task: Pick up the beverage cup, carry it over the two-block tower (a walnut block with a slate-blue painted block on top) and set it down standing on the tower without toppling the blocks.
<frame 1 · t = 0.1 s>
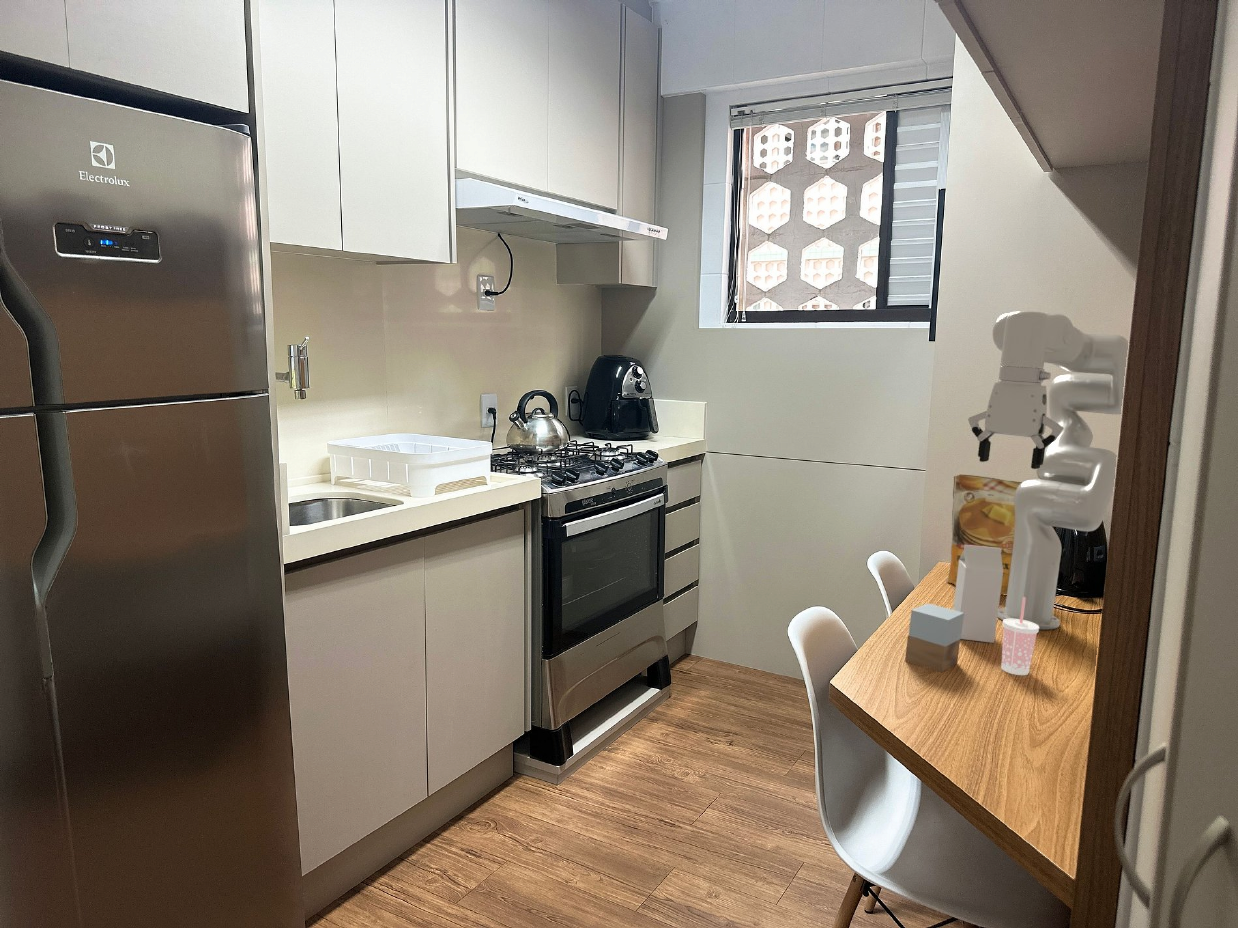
hand: (1009, 464, 163), 37 cm above the table, tool pointing down, fingers open, 9 cm apart
milk carton: (971, 636, 173), on the table
beverage cup: (1014, 671, 155), on the table
top block: (934, 637, 156), point 5 cm above the table, touching bottom block
bottom block: (931, 662, 157), on the table, touching top block
pancake mix bag: (980, 589, 210), on the table
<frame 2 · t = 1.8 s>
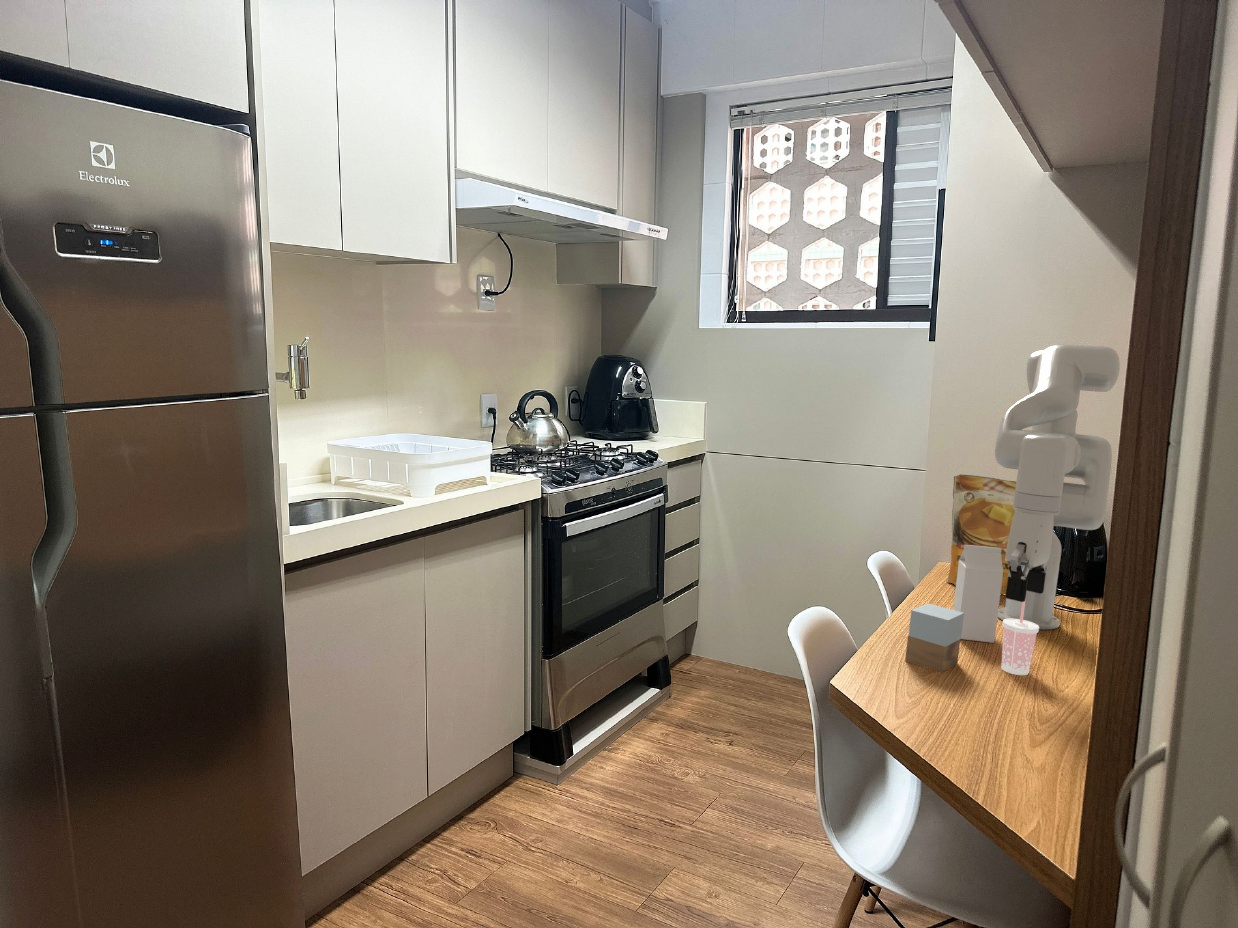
hand: (1024, 595, 153), 14 cm above the table, tool pointing down, fingers open, 9 cm apart
nothing on the table moved.
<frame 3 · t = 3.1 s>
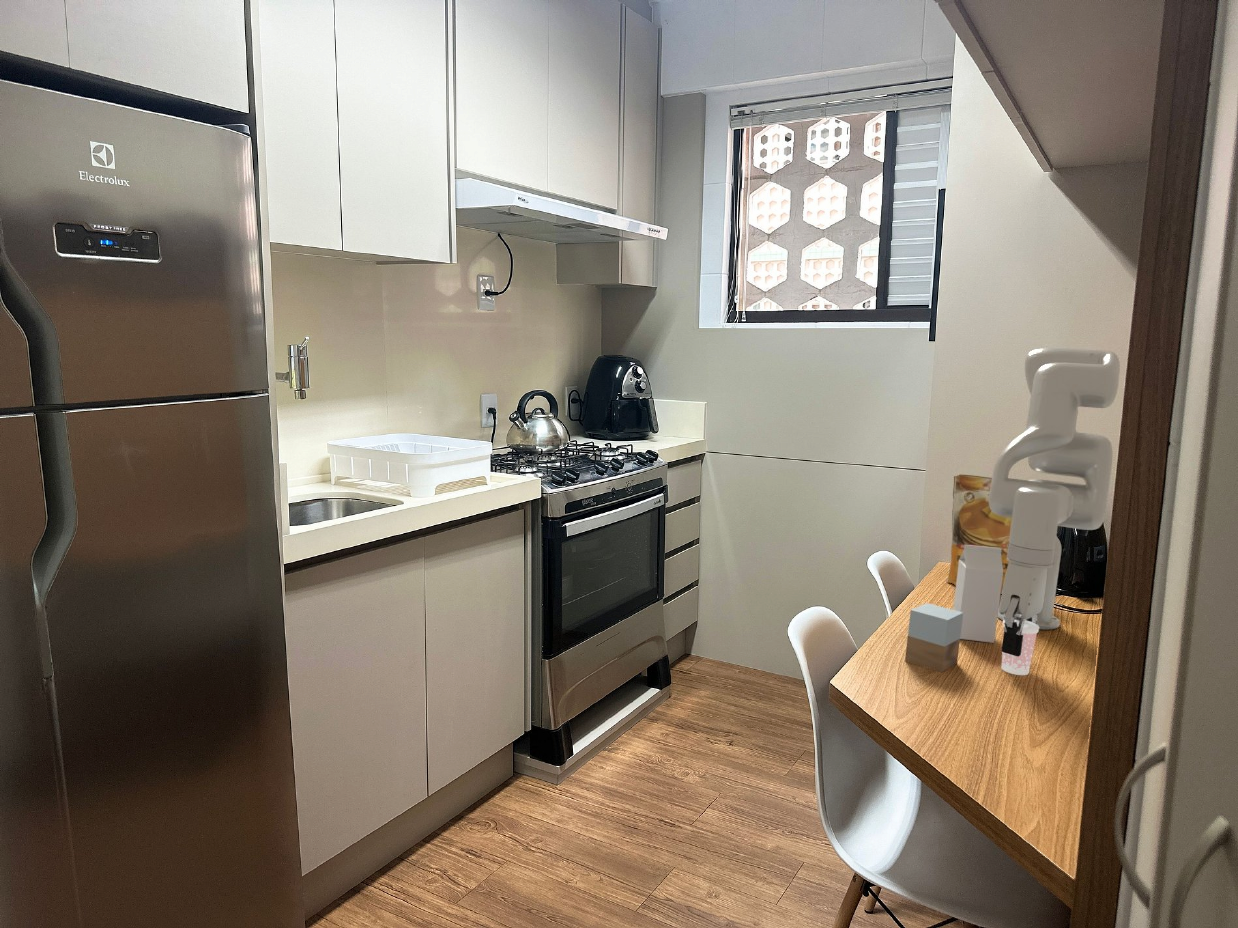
hand: (1017, 648, 155), 4 cm above the table, tool pointing down, fingers closed on beverage cup, 6 cm apart
beverage cup: (1014, 671, 155), on the table, touching gripper
everything else where it was.
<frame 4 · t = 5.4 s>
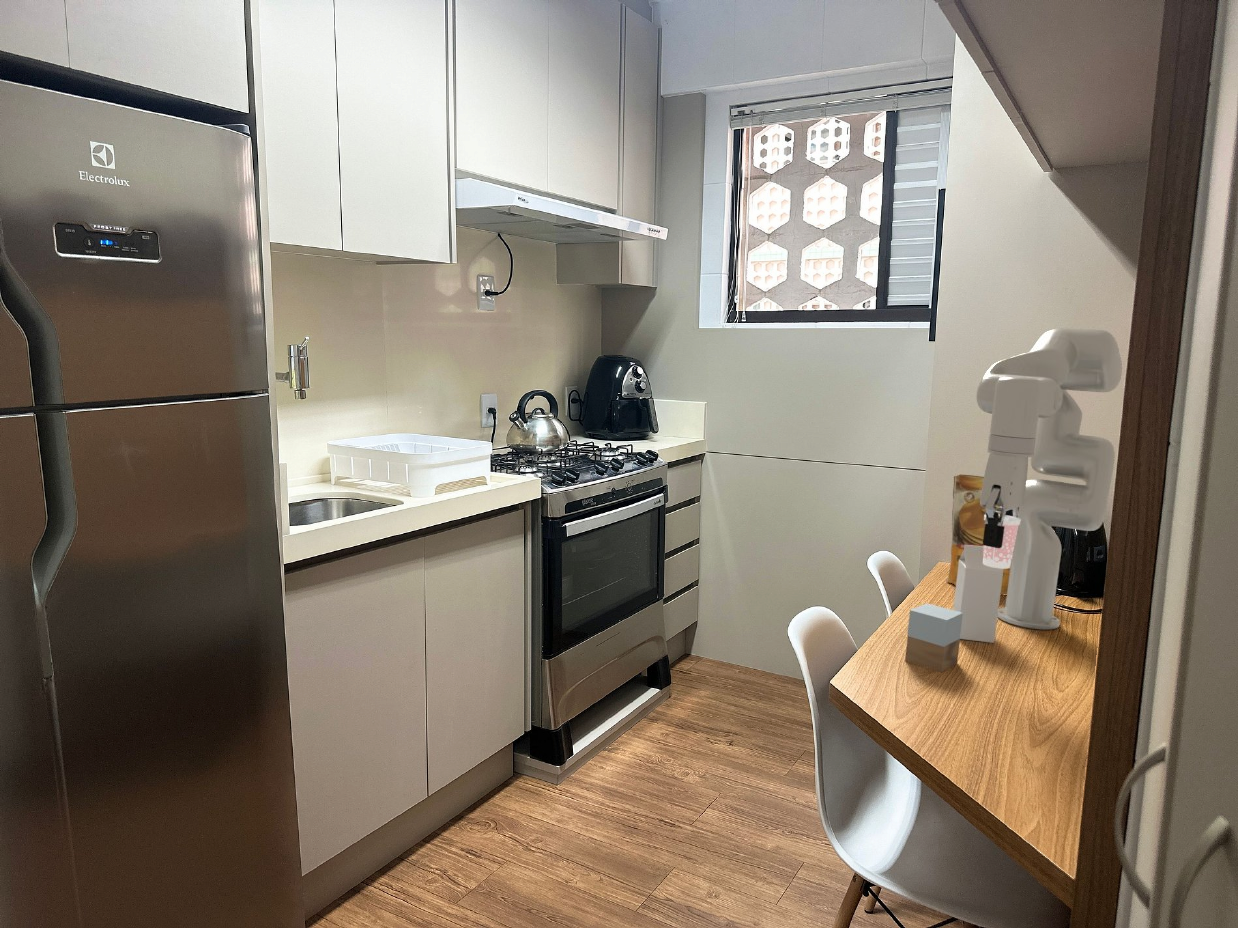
hand: (998, 543, 152), 24 cm above the table, tool pointing down, fingers closed on beverage cup, 6 cm apart
beverage cup: (996, 566, 153), point 19 cm above the table, touching gripper
everything else where it was.
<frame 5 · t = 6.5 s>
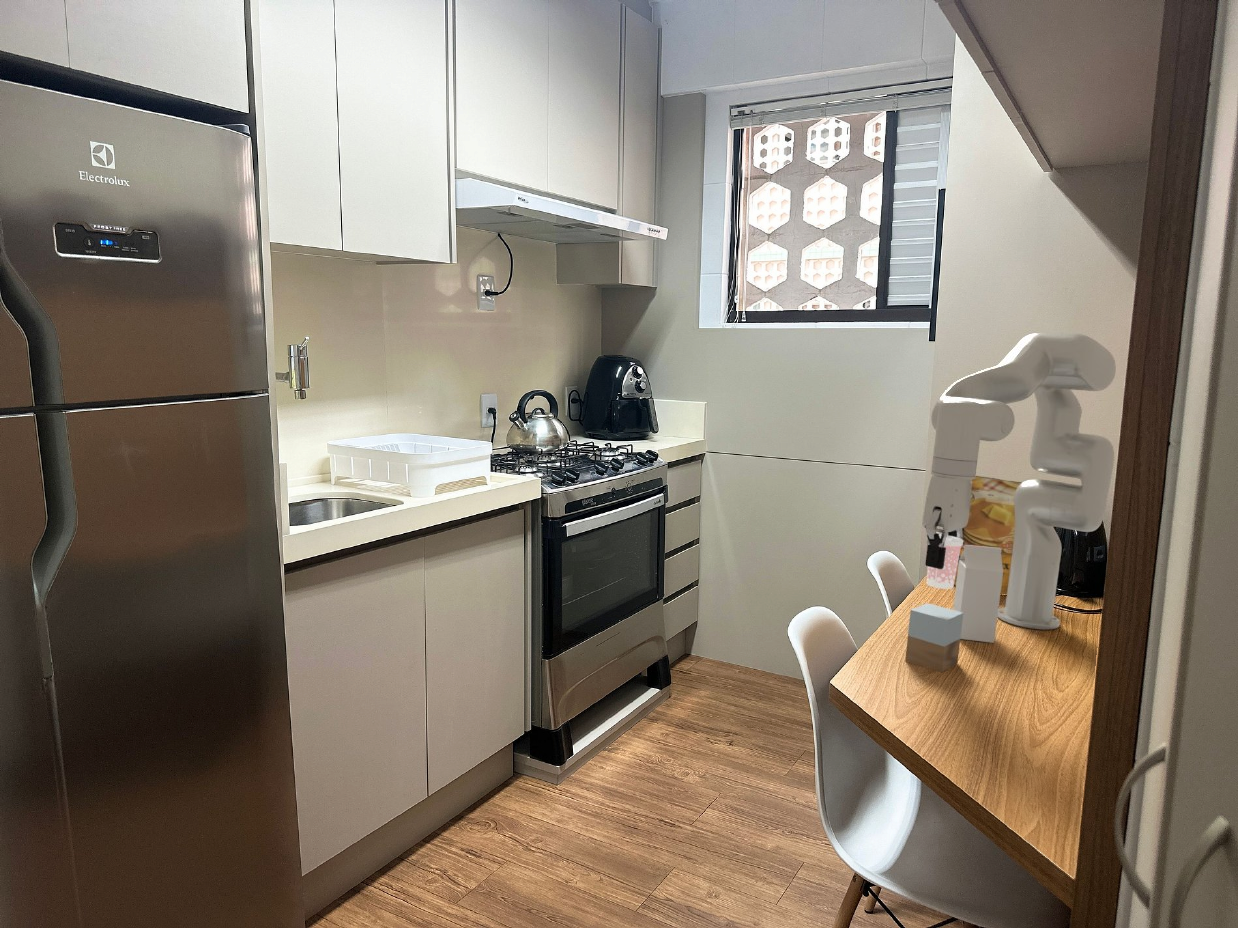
hand: (942, 563, 154), 19 cm above the table, tool pointing down, fingers closed on beverage cup, 6 cm apart
beverage cup: (939, 586, 155), point 15 cm above the table, touching gripper
everything else where it was.
when the fingers open (15 cm above the table, at t = 7.6 s): beverage cup stays where it is, resting on top block.
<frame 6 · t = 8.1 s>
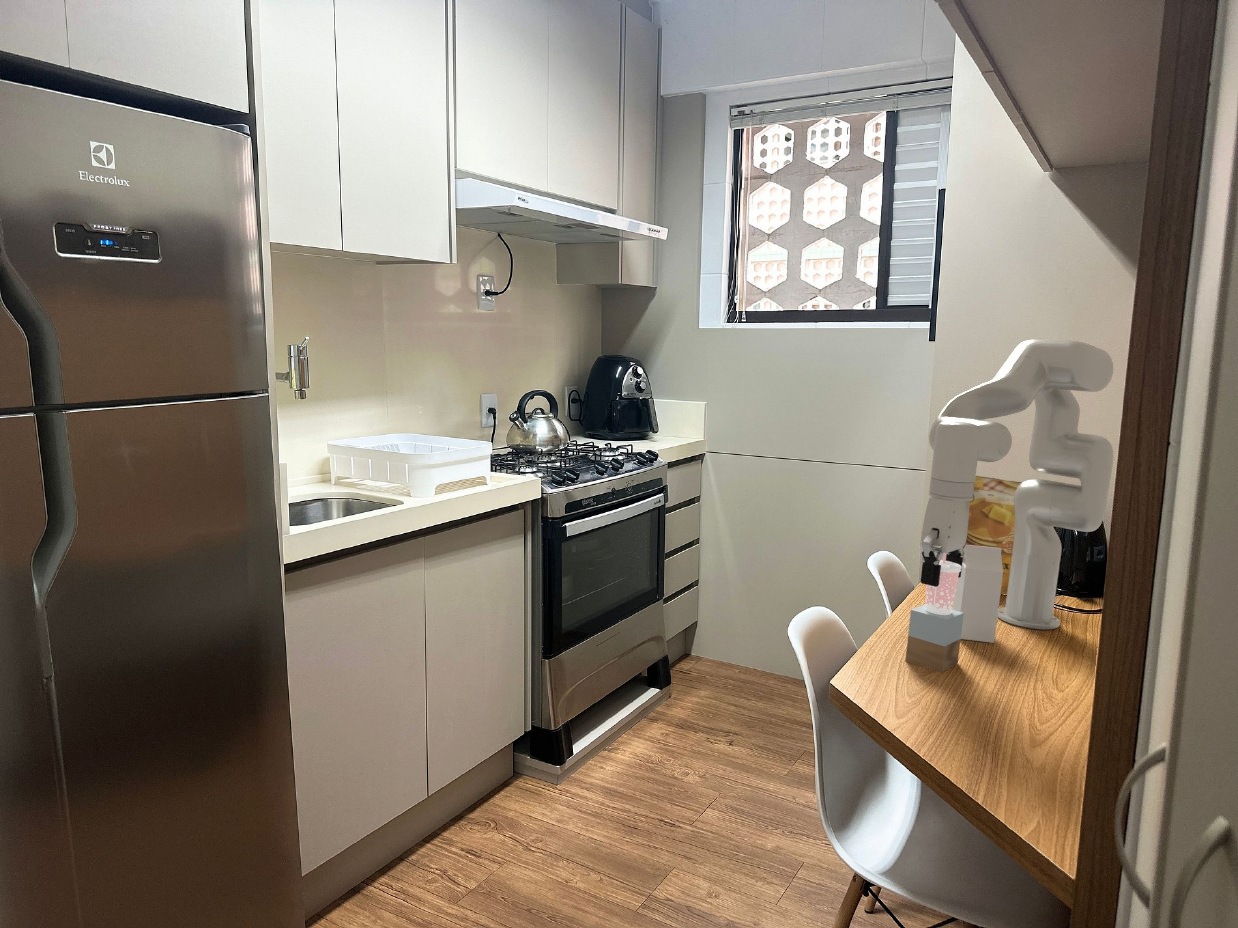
hand: (940, 580, 155), 16 cm above the table, tool pointing down, fingers open, 9 cm apart
beverage cup: (938, 611, 156), point 10 cm above the table, touching top block
top block: (934, 636, 156), point 5 cm above the table, touching beverage cup, bottom block
everything else where it was.
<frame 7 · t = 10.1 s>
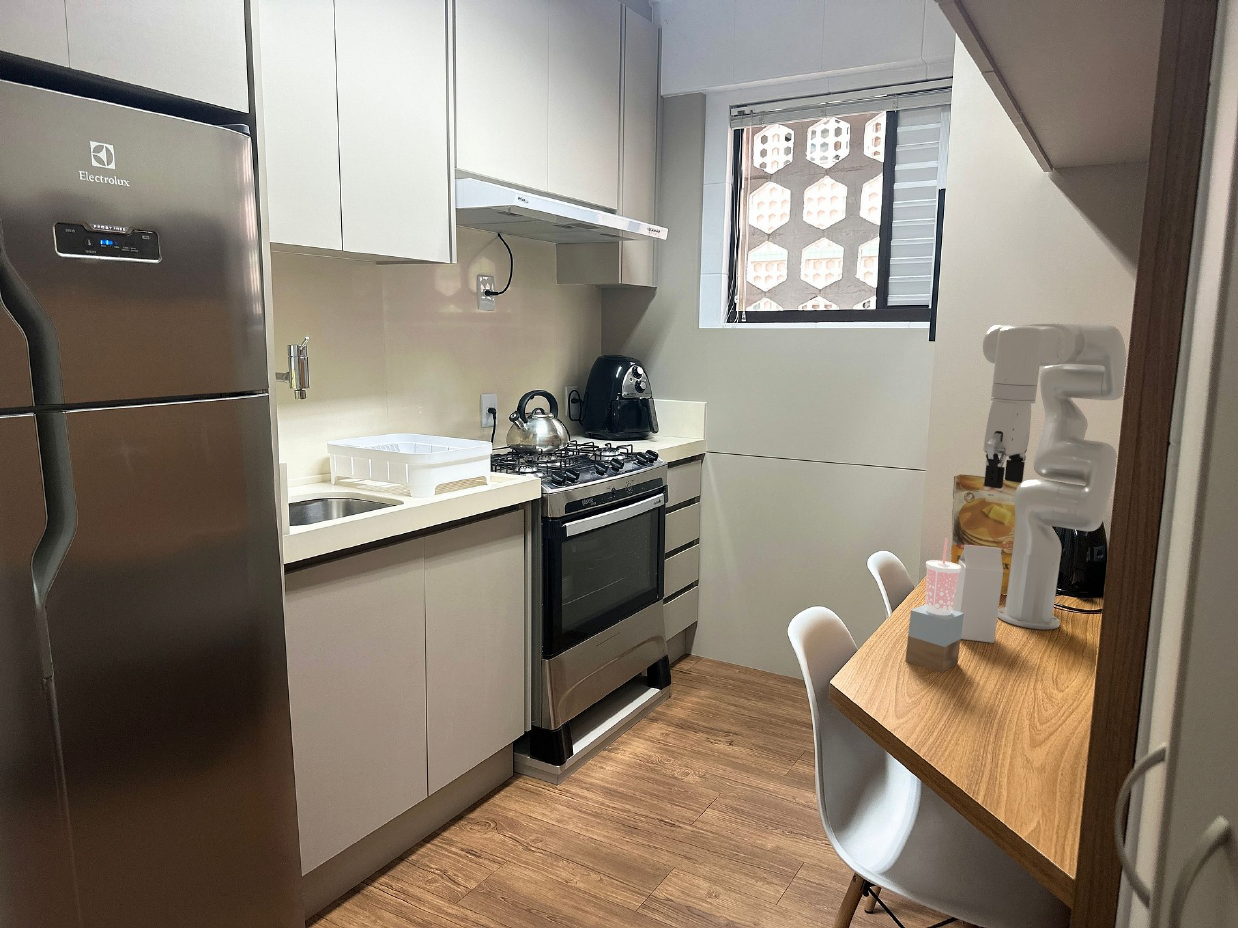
hand: (1003, 484, 158), 34 cm above the table, tool pointing down, fingers open, 9 cm apart
nothing on the table moved.
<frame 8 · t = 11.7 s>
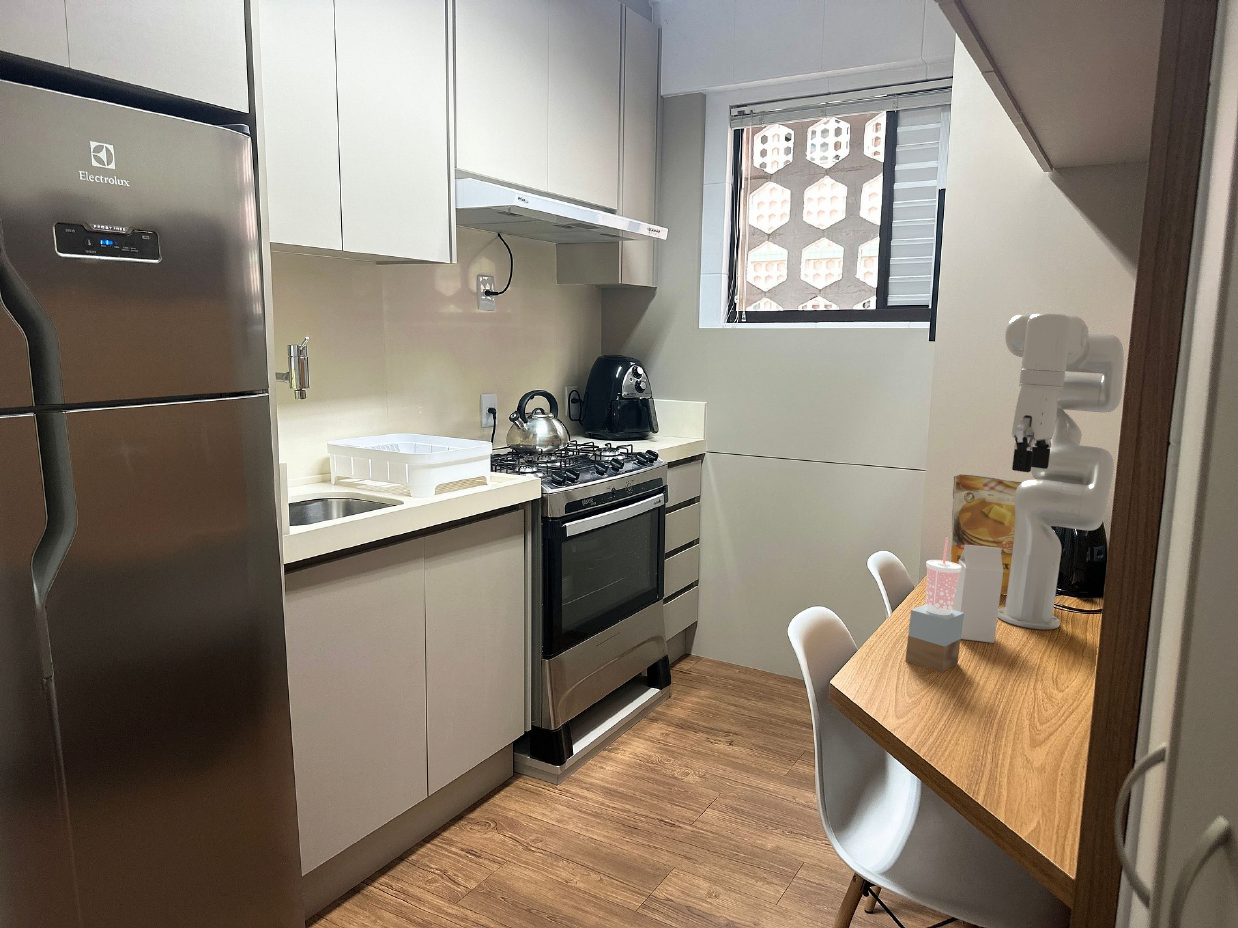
hand: (1030, 469, 161), 36 cm above the table, tool pointing down, fingers open, 9 cm apart
nothing on the table moved.
at the end: beverage cup 0.2 cm off-centre on the bottom block, point 9.8 cm above the bottom block's base; beverage cup tilted 0°; top block tilted 0° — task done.
